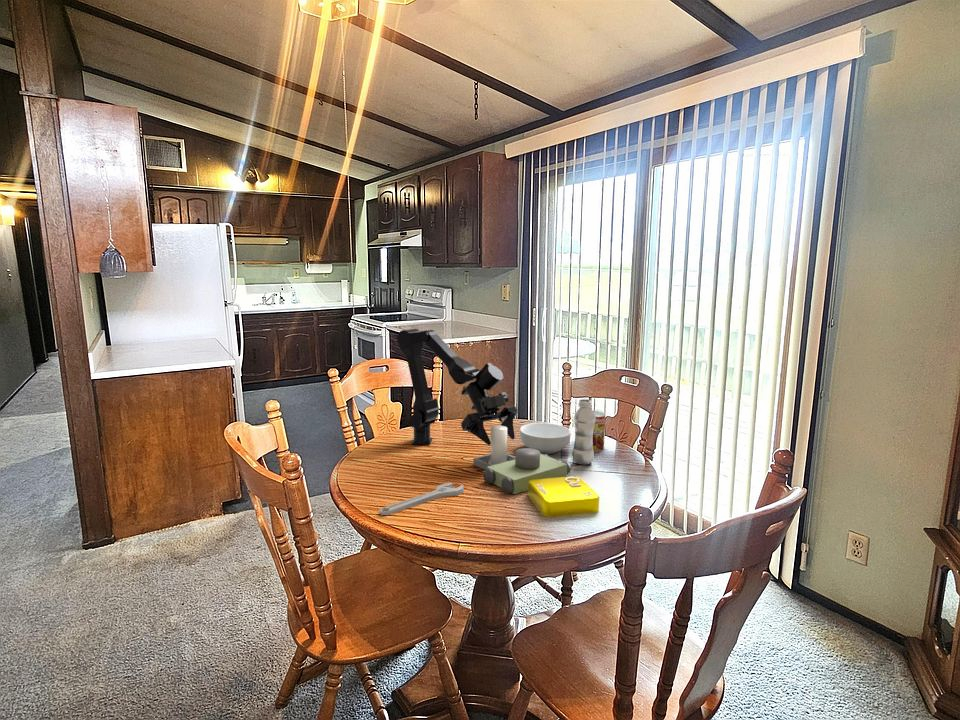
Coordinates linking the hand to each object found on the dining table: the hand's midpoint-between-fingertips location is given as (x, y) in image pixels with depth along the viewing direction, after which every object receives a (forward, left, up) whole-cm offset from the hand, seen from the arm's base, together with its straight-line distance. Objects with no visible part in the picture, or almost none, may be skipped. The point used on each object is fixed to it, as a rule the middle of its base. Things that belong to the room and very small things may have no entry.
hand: (501, 441), depth 164 cm
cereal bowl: (-17, +14, -8) cm, 24 cm away
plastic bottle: (-5, +25, -8) cm, 27 cm away
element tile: (+24, +16, -9) cm, 30 cm away
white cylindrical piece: (-1, -1, -8) cm, 8 cm away
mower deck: (+4, +3, -8) cm, 10 cm away
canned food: (-20, +30, -8) cm, 37 cm away
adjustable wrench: (+25, -20, -9) cm, 33 cm away
